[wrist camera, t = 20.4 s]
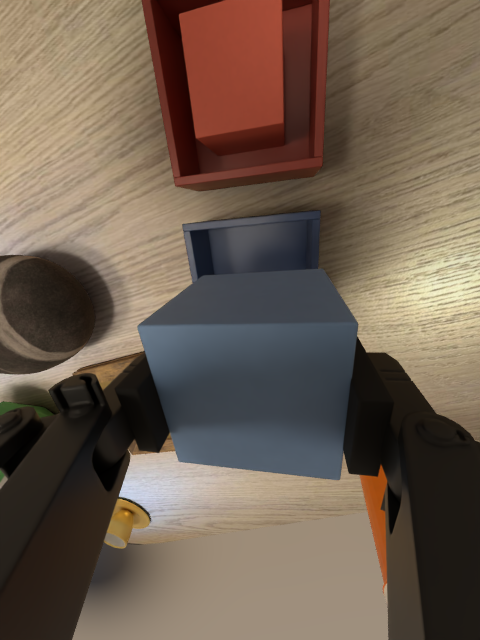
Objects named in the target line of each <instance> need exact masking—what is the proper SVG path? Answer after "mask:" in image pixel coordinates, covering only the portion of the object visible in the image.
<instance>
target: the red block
mask: <svg viewBox="0 0 480 640" xmlns="http://www.w3.org/2000/svg"><path fill="white" fill-rule="evenodd" d="M179 20H180V28H181V35H182V42H183V49H184V56H185V64H186V71H187V78H188V85H189V92H190V99H191V107H192V114H193V121H194V128H195V135H196V139H198V140H199V141H200V142H201V143H203V144H204V145H205V146H206V147H208V148H209V149H210V150H211V151H213V152H214V153H215V154H216V155H218V156H224V155H230V154H236V153H242V152H249V151H255V150H261V149H268V148H274V147H280V146H284V145H285V137H284V61H283V11H282V0H224V1H221V2H218V3H214V4H211V5H208V6H204V7H201V8H197V9H194V10H191V11H187V12H184V13H181V14H179Z"/></svg>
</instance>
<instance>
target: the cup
mask: <svg viewBox="0 0 480 640" xmlns="http://www.w3.org/2000/svg"><path fill="white" fill-rule="evenodd" d="M149 523H150V520H149V517H148V516H147V514H146V513H145V512H144V511H143V510H142V509H140V508H139V507H138V506H136V505H134V504H132V503H130V502H128V501H125V500H121V499H117V502H116V506H115V509H114V512H113V515H112V518H111V521H110V524H109V527H108V530H107V533H106V536H105V539H104V542H105V543H107V544H108V545H110V546H113V547H116V548H125V547H126V545H127V543H128V540H129V538H130V535H131V532H132V528H137V529H141V528H145V527H147V526H148V525H149Z"/></svg>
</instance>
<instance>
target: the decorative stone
mask: <svg viewBox="0 0 480 640" xmlns="http://www.w3.org/2000/svg"><path fill="white" fill-rule="evenodd" d="M94 325H95V313H94V308H93V305H92V302H91V300H90V298H89V296H88V294H87V292H86V291H85V289H84V288H83V286H82V285H81V284H80V282H79V281H78V280H77V279H76V278H75V277H74V276H73V275H72V274H71V273H69V272H68V271H67V270H66V269H64V268H63V267H61V266H60V265H58V264H56V263H54V262H51V261H49V260H46V259H42V258H38V257H33V256H24V255H5V256H0V373H4V374H31V373H37V372H41V371H44V370H47V369H50V368H52V367H54V366H57V365H59V364H61V363H63V362H64V361H66V360H68V359H70V358H71V357H73V356H74V355H75V354H77V353H78V352H79V351H80V350H81V349H82V348H83V347H84V346H85V344H86V343H87V342H88V340H89V338H90V336H91V334H92V332H93V329H94Z"/></svg>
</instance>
